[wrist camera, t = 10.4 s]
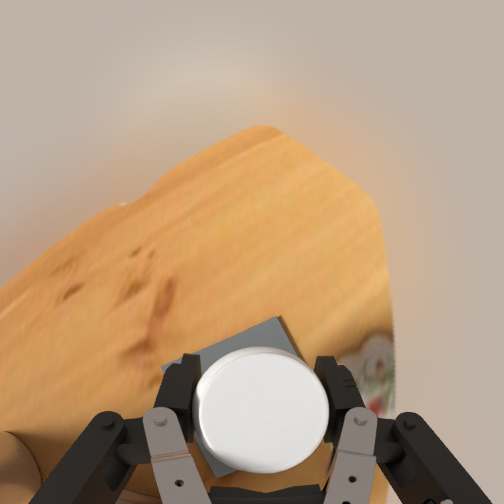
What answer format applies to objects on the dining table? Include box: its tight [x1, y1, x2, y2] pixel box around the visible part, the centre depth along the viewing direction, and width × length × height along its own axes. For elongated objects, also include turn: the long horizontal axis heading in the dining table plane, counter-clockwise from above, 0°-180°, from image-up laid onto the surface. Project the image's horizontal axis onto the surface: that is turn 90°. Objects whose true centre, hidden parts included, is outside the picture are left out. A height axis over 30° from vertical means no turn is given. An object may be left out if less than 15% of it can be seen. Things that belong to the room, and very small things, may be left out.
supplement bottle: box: [192, 347, 329, 474], centre depth 12 cm, size 5×5×10 cm
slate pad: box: [161, 316, 299, 479], centre depth 25 cm, size 12×12×1 cm
